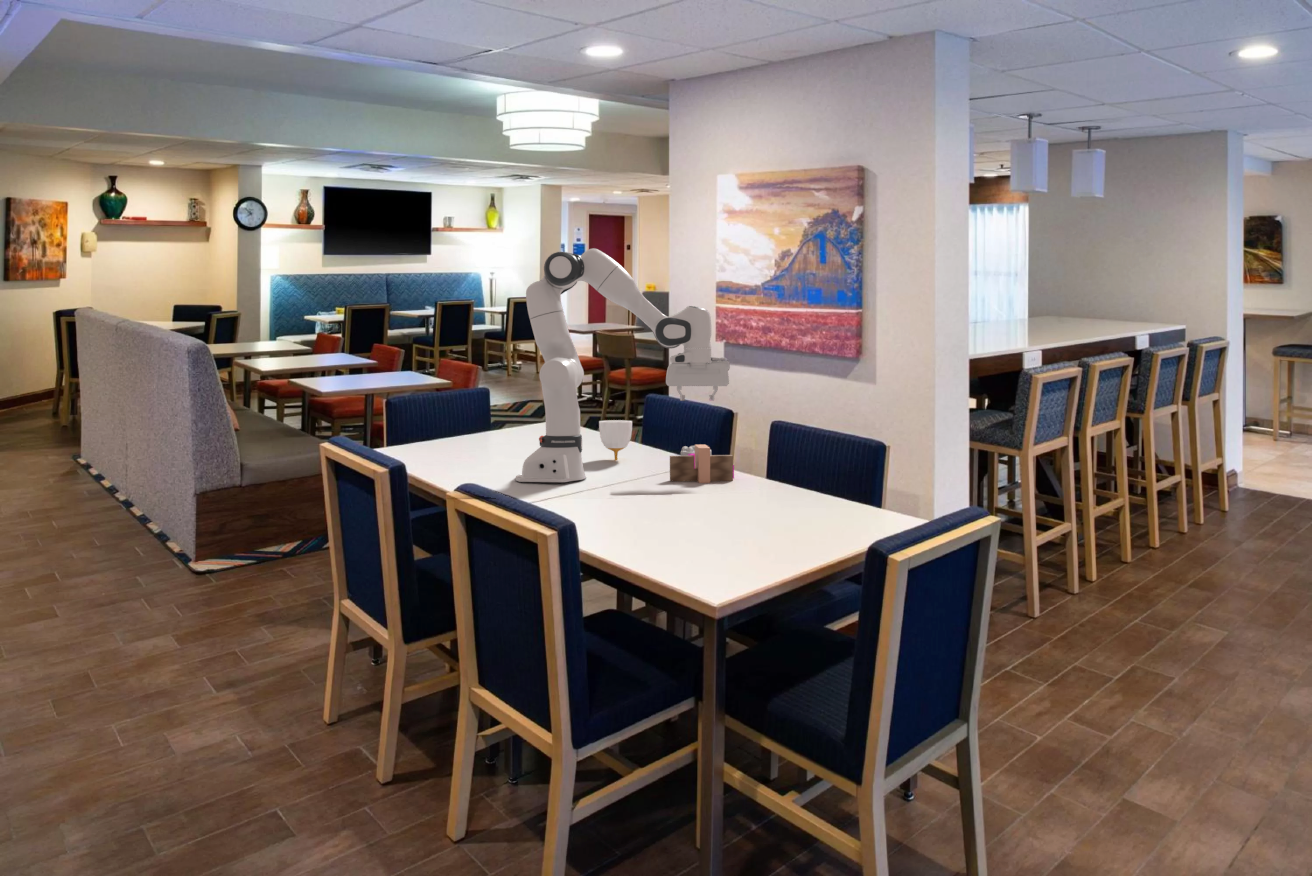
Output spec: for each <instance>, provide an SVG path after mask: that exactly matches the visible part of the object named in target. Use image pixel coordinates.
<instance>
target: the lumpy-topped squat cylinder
mask: <svg viewBox="0 0 1312 876" xmlns="http://www.w3.org/2000/svg"><path fill="white" fill-rule="evenodd" d="M694 453H695V445H690V446H689V447H688V446H686V445H685V446H682V448H681V451H680V456H688V454H694ZM710 455H712V449H710Z"/></svg>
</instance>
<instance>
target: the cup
mask: <svg viewBox="0 0 1312 876" xmlns="http://www.w3.org/2000/svg"><path fill="white" fill-rule="evenodd" d="M598 427H599V428H598V429H599V430H598V431H599V437H600V440H601V443H602V445H603V447H605V448H606V449H607V450H610V451H611V452H613V453H614V461H618V454H619V452H620V451H622V450H623V449H626V448H627V447H628V445H629V444H630V442H631V438H632V432H633V420H626V419H625V420H624V419H622V420H621V419H618V420H617V419H616V420H615V419H613V420H612V419H611V420H610V419H609V420H608V419H607V420H599V421H598Z"/></svg>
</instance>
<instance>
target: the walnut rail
mask: <svg viewBox="0 0 1312 876" xmlns="http://www.w3.org/2000/svg"><path fill="white" fill-rule="evenodd" d="M733 465H734V456H733V454H711V455H710V482H729V481H730V482H733V481H734V478H733ZM669 481H670V482H698V469H694V456H693V455H690V456H681V455H669Z"/></svg>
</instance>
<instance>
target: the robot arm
mask: <svg viewBox="0 0 1312 876" xmlns="http://www.w3.org/2000/svg"><path fill="white" fill-rule="evenodd" d="M543 272H544V273H543V274H544V275H543V278H542V279H541V280H538V281H535V282H534V281H533V283H531V284H529V285H528V287H527V288H526V291H525V298H526V299H525V300H526V307H527V314H528V318H529V321H530V325H531V329H532V333H533V336H534V340H535V344H536V346H537V348H538V350H539V351H540V353H541V355H542V359H543V361H544V363H543V364H542V366H541V367H540V369H539V380H540V385H541V390H542V391H541V392H542V398H543V403H544V411H545V435H541V436H539V438H538V442H539V446H540V447H538V448H537V449H536V450H535V451H534V452H532V453H531V454H530V455H529V456H528V457H527V458H526V459H524V461H523V464H522V469H521V474H522V475H520V474H518V475H516V476H515V478H514V479H516V480H515V481H516V482H520V483H521V482H522V483H568V482H574V481H581V480H586V479H587V475H586V473H585V469H584V464H583V457H582V451H583V437H582V434H581V409H580V406H579V400H578V393H577V388H579V386H580V385H581V384H582V383H583V380H584V376H585V371H584V368H583V366H582V363H581V361H580V358H579V355H578V352H577V350H576V347H575V345H574V342H573V339H572V337H571V334H570V331H569V327H568V323H567V319H566V315H565V312H564V309H563V303H562V300H561V299H562V298H561V295H563V294H564V293H565V292H568V291H570V290H571V289H572V288H574V286H576V285H577V283H578V282H585V283H587V284H589V285H590V286H591V287H592V288H594V290H595V291H596V292H598V293H599V294H600V295H602V297H604V298H606V299H607V300H609V301H610V302H612V303H613V304H615V305H617V306H619V307H621V308H624V309H626V310H628V311H630V312H631V313H632V314H634V316H636V318H638V319H640V320H641V321H642V322H643V323H644V324H645V325H646V326H647V327H648V328H649V329H650V330H651V331H652V333H653V336H654V337H655V340H656V342H657V343H658V345H660V346H661V347H663V348H665V349H675V348H678V347H679V346H681V345H682V346H683V352H682V353H681V352H679V353H677V354H674V355H671V356H670V357H669V362H670V364H668V367H667V368H666V369H667V370H666V373H665V374H666V376H665V384H666V385H667V387H676V391H677V392H678V395H679V400H680V401H686V394H683V393H682V391H681V390H682V387H712V390H713V392H712V394H709V395H708V398H709V399H708V400H709V401H713V402H714V401H715V396H716V394H717V392H718V389H719V387H727V386H728V385H729V384H730V377H729V370H730V368H731V366H730V363H731V362H730V361H729V359H727V358H726V357H713V356H712V345H711V338H712V316H711V314H710V311H708V310H707V309H706V308H704V307H699V306H692V305H688V306H686V307H685V308H683V309H682V310H681V311H679V312H677V313H674V314H673V315H669V316H668V315H666V314H664V313H663V312H662V311H661V310H659V309H658V308H657V307H656V306H654V305H653V303H652V302H650V301H649V300H648V299H647V298H646V297H645V296H644V294H643V293H642V291H640V288H639V287H638V285H637V283H636V281H635V279H634V278H633V277H632V276H631V274H630V273H629V272H628V271H627V270H626V269H625V268H624V267H623V266H622V265H621V264H620V263H619V262H617V261H616V260H615V259H614V258H612V257H611V256H609V255H608V254H606V252H603V251H602V250H600V249H598V248H595V247H594V248H589V249H587V250H585V251H584V252H583V253H582V254H581V255H579V254H576V253H572V252H567V251H556V252H553V253H551V254H550V255H549V256H548V257H547V258H546V260H545V261H544V266H543Z"/></svg>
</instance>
